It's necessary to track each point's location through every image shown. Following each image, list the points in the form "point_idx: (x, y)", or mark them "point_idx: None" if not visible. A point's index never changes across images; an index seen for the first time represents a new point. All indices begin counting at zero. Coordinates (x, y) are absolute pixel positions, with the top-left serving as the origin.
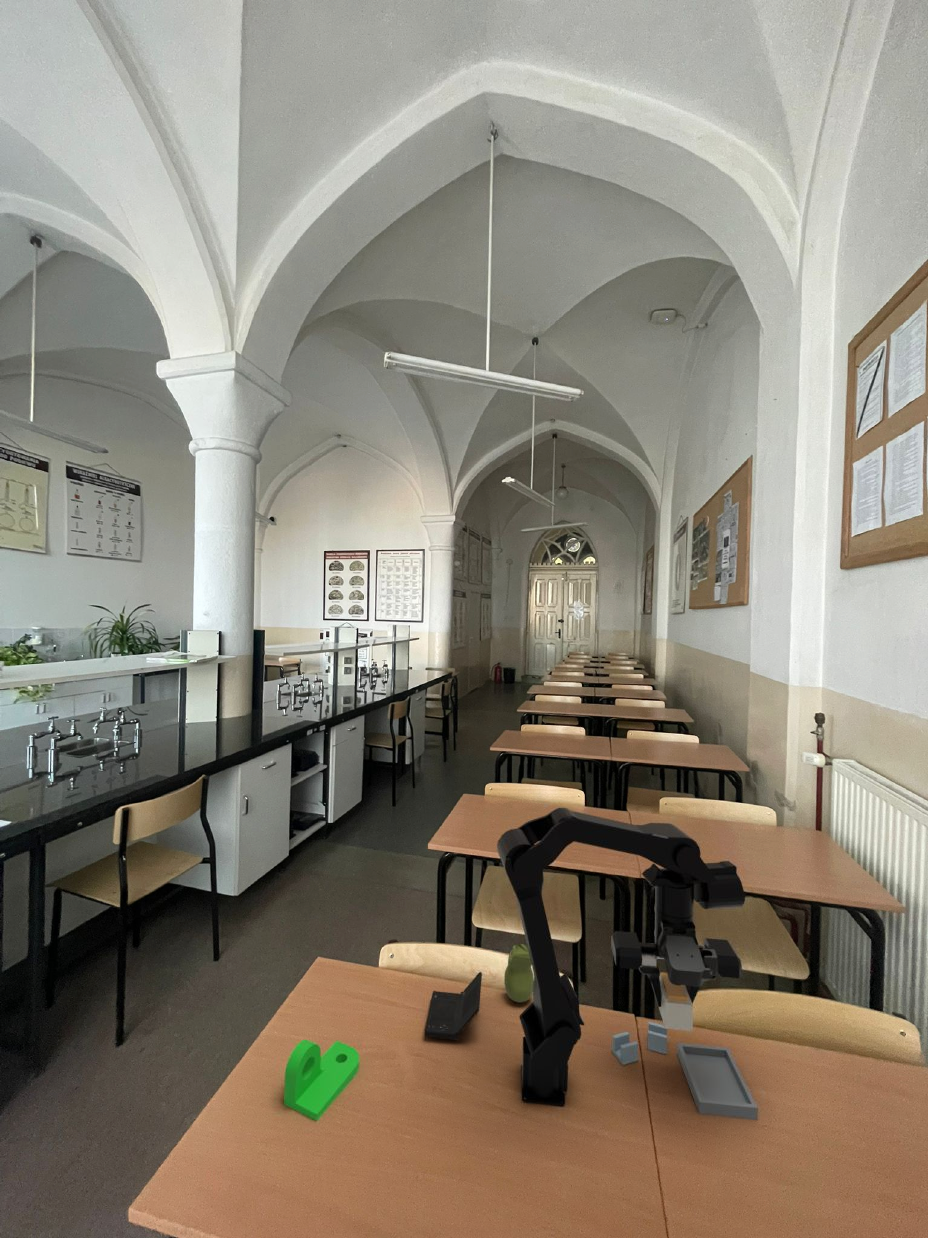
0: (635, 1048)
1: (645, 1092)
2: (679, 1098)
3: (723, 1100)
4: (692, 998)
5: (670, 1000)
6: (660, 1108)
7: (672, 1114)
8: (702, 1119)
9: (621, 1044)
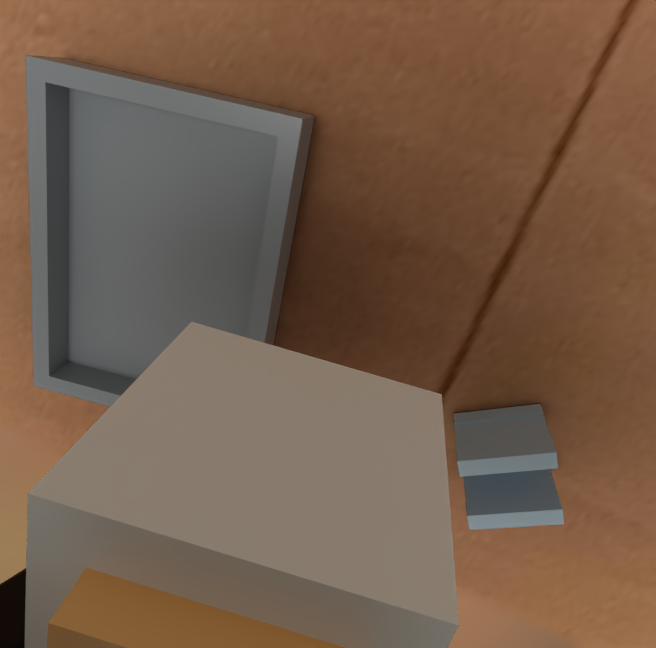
0: (471, 448)
1: (513, 259)
2: (364, 209)
3: (170, 157)
4: (11, 603)
5: (347, 640)
6: (488, 167)
7: (447, 128)
8: (313, 87)
9: (512, 485)
